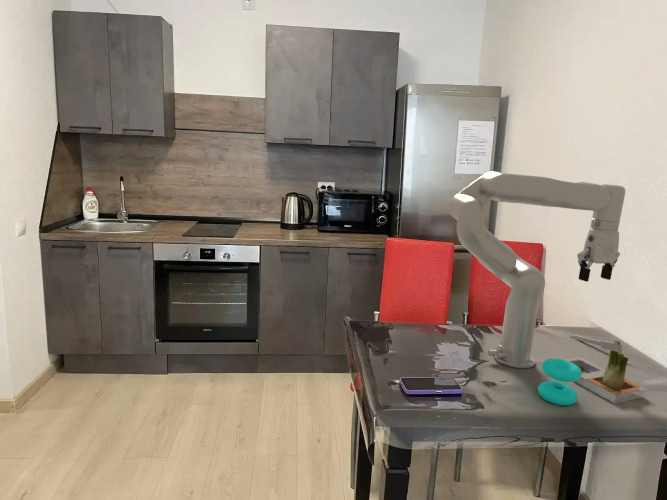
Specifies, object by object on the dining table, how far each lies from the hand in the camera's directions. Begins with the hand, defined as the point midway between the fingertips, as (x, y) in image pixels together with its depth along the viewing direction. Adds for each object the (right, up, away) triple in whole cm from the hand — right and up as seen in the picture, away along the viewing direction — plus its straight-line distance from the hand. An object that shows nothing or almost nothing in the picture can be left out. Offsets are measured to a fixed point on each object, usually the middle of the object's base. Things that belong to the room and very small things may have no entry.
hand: (594, 279), depth 157 cm
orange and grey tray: (-3, -30, -7) cm, 31 cm away
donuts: (-20, -32, -17) cm, 41 cm away
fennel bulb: (-1, -32, -11) cm, 34 cm away
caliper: (+10, -26, +21) cm, 34 cm away
